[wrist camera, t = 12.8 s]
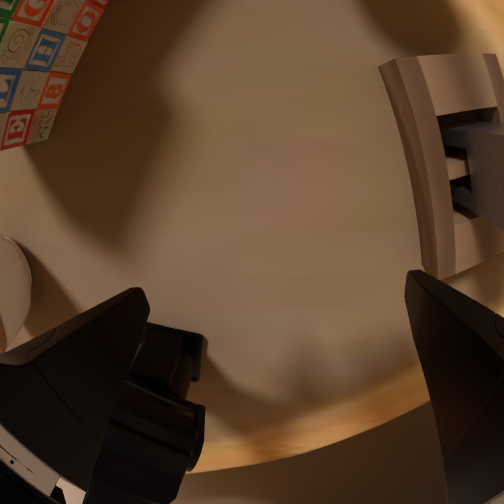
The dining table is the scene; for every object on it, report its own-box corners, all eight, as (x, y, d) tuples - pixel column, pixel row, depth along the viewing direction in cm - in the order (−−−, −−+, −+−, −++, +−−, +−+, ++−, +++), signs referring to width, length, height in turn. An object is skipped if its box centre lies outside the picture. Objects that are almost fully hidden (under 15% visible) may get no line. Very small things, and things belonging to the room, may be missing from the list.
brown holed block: (422, 264, 22) (438, 281, 19) (378, 66, 16) (394, 58, 13) (501, 231, 20) (520, 243, 17) (474, 58, 14) (495, 54, 11)
